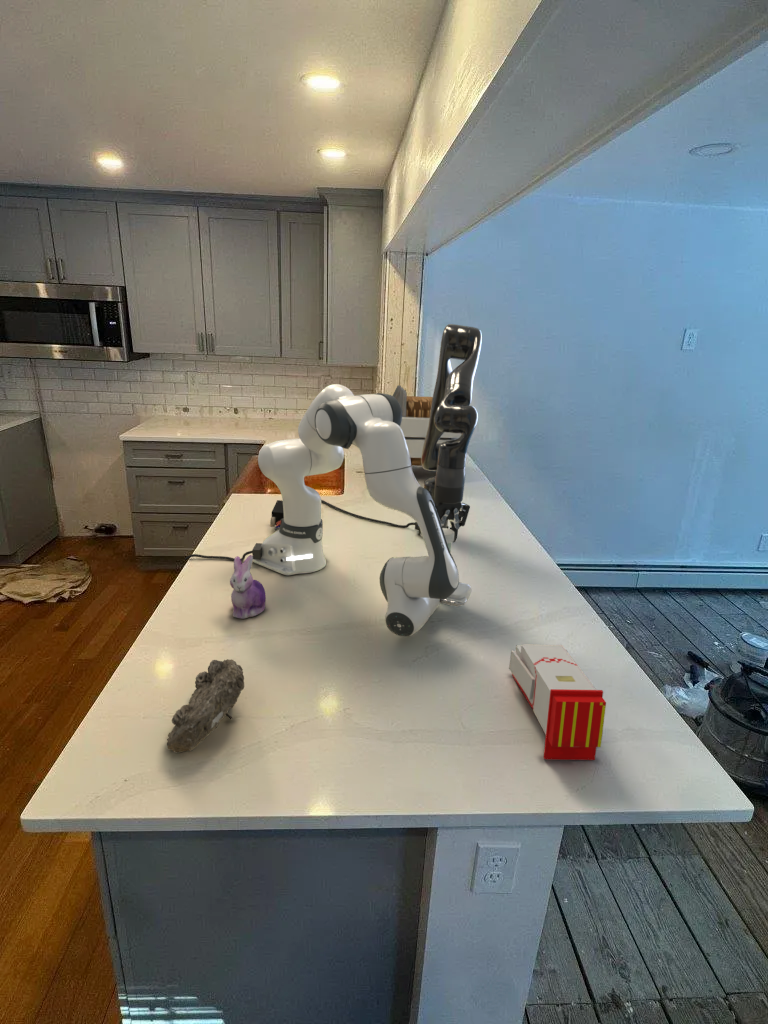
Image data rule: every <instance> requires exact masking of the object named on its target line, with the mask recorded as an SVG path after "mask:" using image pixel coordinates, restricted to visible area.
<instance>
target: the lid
mask: <svg viewBox="0 0 768 1024" xmlns="http://www.w3.org/2000/svg"><path fill="white" fill-rule="evenodd" d="M442 529H443V532H444V535H445V538H446V541H447V543H451V544H453V543H454V542H453V541H454V535H455V534H454V531H453V530H451V529H450V528H449V527H448V528H442Z"/></svg>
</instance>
